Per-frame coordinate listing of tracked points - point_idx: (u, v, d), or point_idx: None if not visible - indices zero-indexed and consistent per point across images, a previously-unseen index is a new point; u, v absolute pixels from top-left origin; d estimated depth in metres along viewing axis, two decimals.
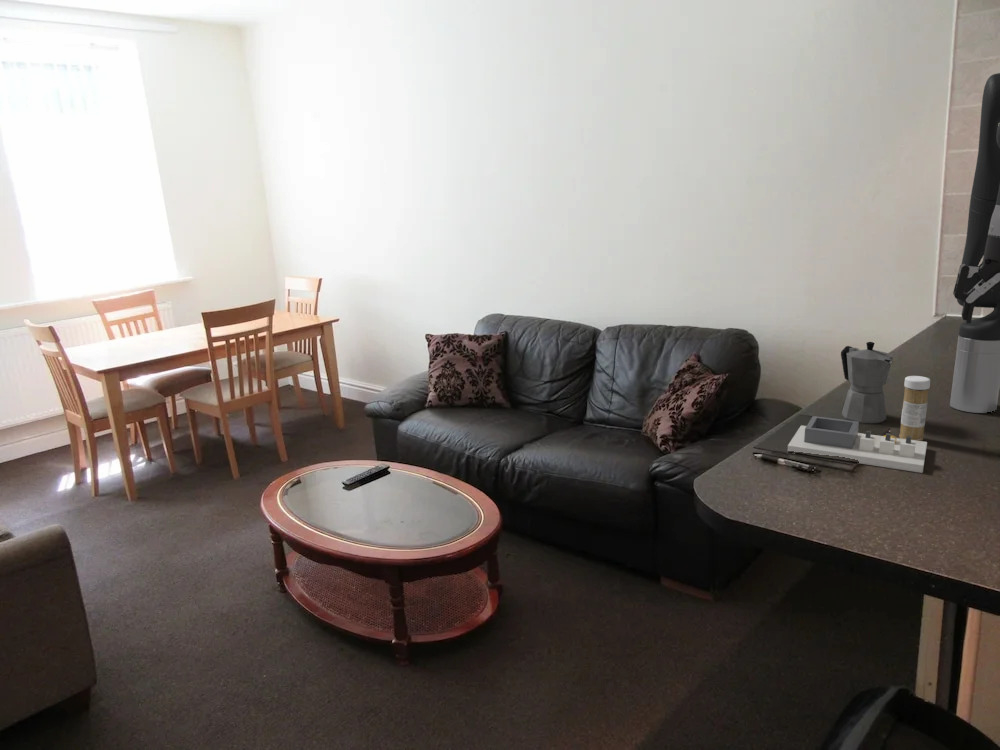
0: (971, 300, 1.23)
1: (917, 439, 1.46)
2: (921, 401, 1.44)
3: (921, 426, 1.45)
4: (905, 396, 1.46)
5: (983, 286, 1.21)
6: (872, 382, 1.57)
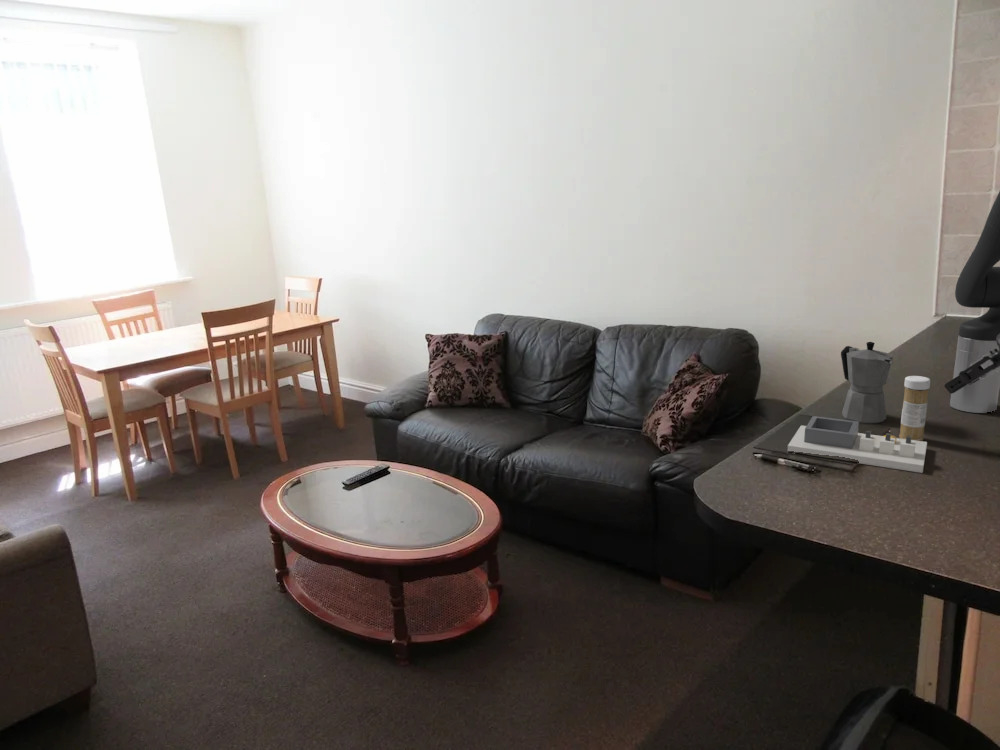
0: (971, 382, 1.33)
1: (917, 439, 1.46)
2: (921, 401, 1.44)
3: (921, 426, 1.45)
4: (905, 396, 1.46)
5: (988, 375, 1.31)
6: (872, 382, 1.57)
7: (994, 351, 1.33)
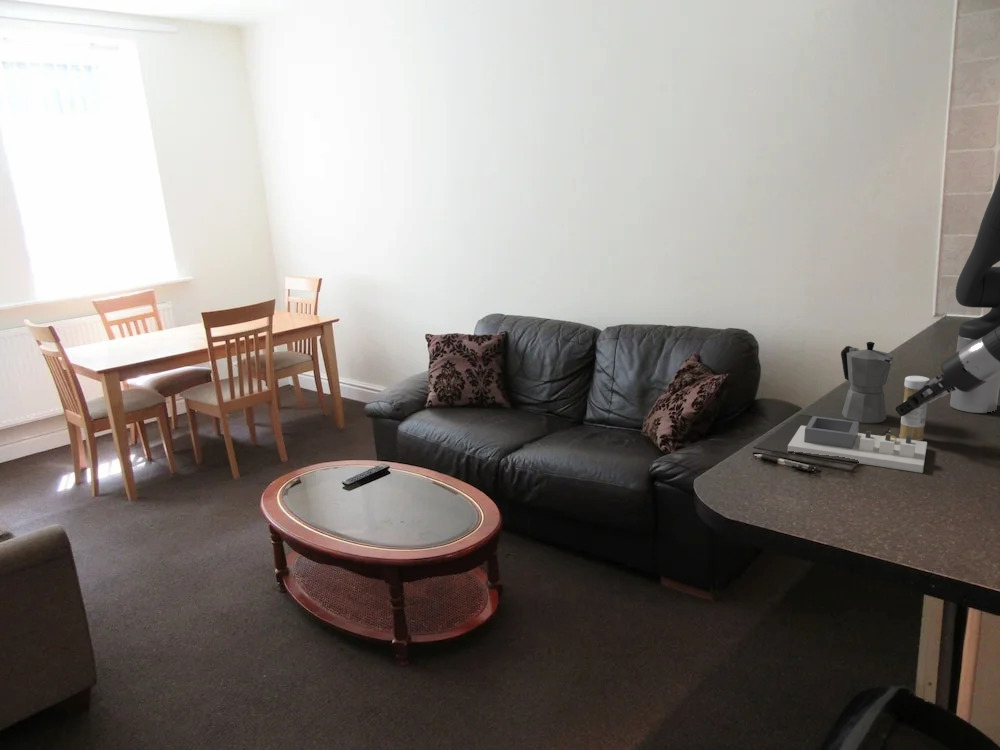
0: (919, 406, 1.43)
1: (917, 439, 1.46)
2: None
3: (921, 426, 1.45)
4: (905, 396, 1.46)
5: None
6: (873, 382, 1.57)
7: (941, 376, 1.41)
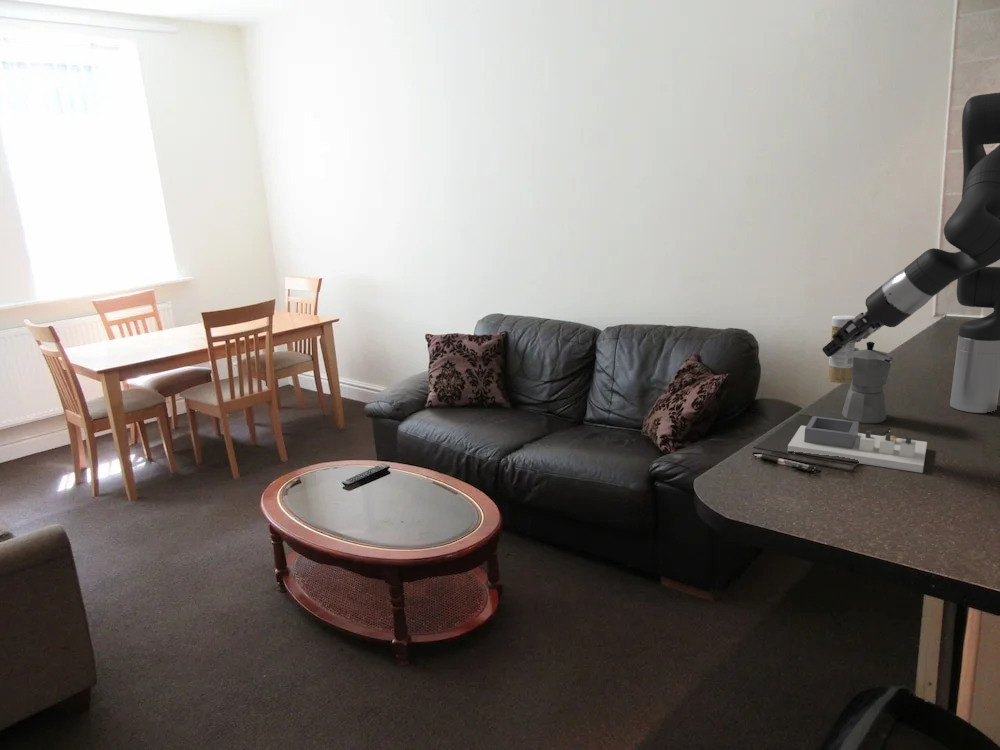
0: (845, 345, 1.37)
1: (845, 380, 1.40)
2: None
3: (849, 367, 1.40)
4: None
5: (859, 337, 1.35)
6: (873, 382, 1.57)
7: None
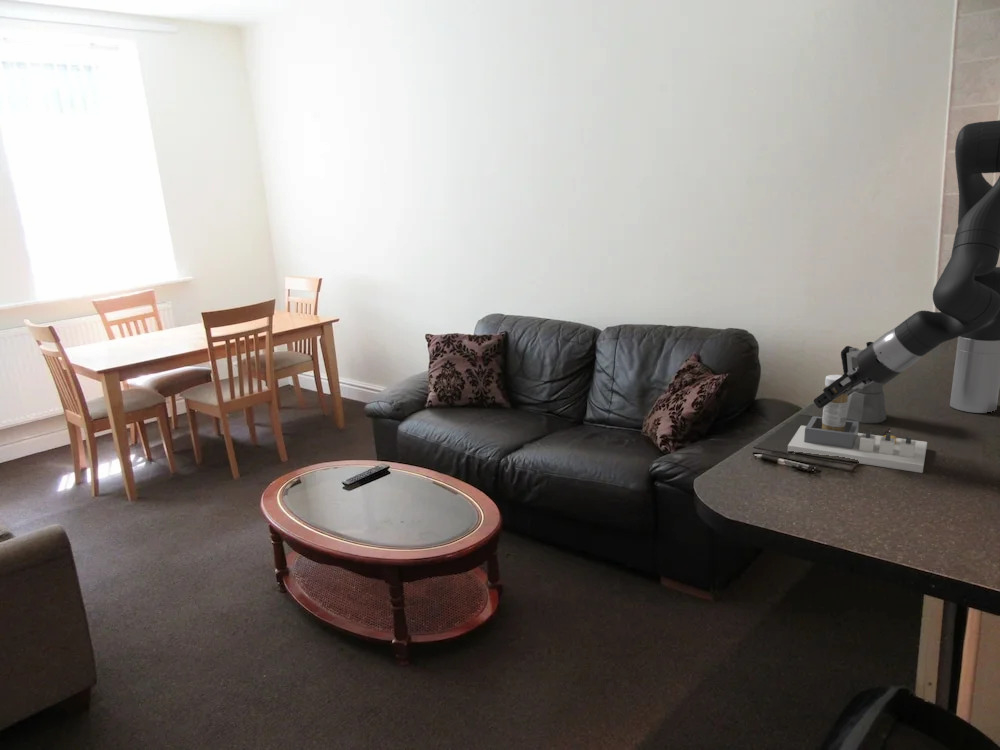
0: (836, 398, 1.39)
1: None
2: (840, 400, 1.41)
3: (841, 426, 1.43)
4: None
5: (851, 391, 1.38)
6: (872, 382, 1.57)
7: (858, 368, 1.39)
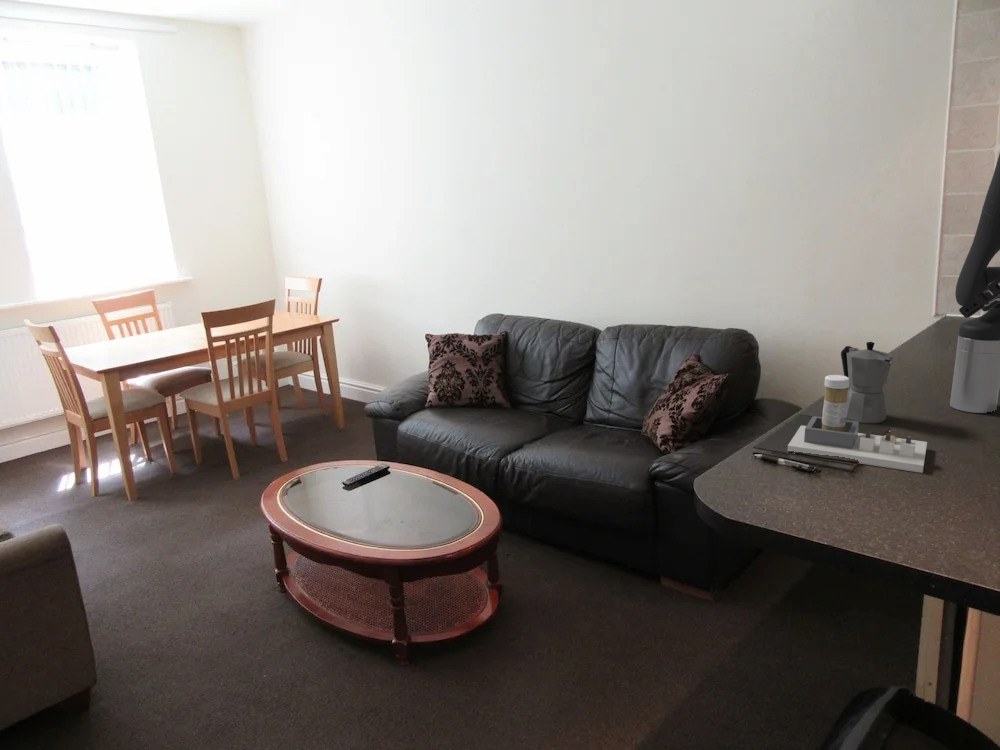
0: (988, 304, 1.26)
1: None
2: (840, 401, 1.41)
3: (841, 426, 1.43)
4: (825, 395, 1.43)
5: None
6: (872, 382, 1.57)
7: None
